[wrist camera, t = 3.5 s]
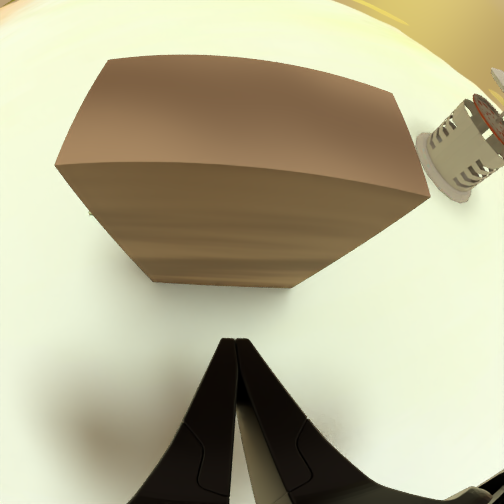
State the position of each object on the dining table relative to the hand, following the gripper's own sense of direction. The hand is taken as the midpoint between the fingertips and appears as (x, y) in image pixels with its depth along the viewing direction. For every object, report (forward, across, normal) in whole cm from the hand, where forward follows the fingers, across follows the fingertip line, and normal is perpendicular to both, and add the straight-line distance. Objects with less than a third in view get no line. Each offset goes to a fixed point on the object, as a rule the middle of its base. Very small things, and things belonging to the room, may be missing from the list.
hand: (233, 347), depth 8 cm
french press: (+19, -26, -6) cm, 33 cm away
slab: (+10, 0, +2) cm, 10 cm away
